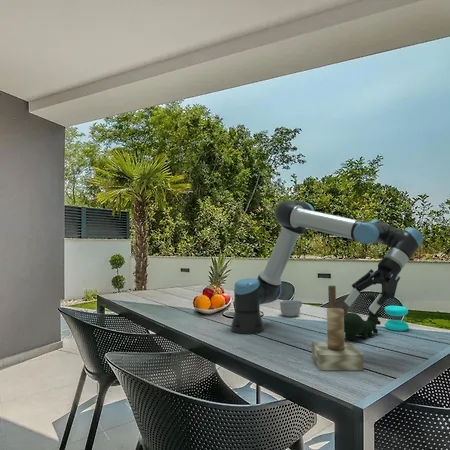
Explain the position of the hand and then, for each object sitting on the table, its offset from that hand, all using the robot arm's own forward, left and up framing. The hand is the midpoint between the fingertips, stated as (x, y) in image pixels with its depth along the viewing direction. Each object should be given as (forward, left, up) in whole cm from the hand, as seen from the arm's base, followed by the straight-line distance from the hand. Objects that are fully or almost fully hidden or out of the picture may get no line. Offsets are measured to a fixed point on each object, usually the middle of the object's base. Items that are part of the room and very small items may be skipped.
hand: (358, 307), depth 133 cm
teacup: (-14, +71, -19) cm, 75 cm away
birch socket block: (-9, -3, -18) cm, 21 cm away
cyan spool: (+30, +42, -19) cm, 55 cm away
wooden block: (+6, +54, -19) cm, 58 cm away
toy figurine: (+9, +28, -19) cm, 35 cm away
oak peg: (-9, -3, -18) cm, 20 cm away
